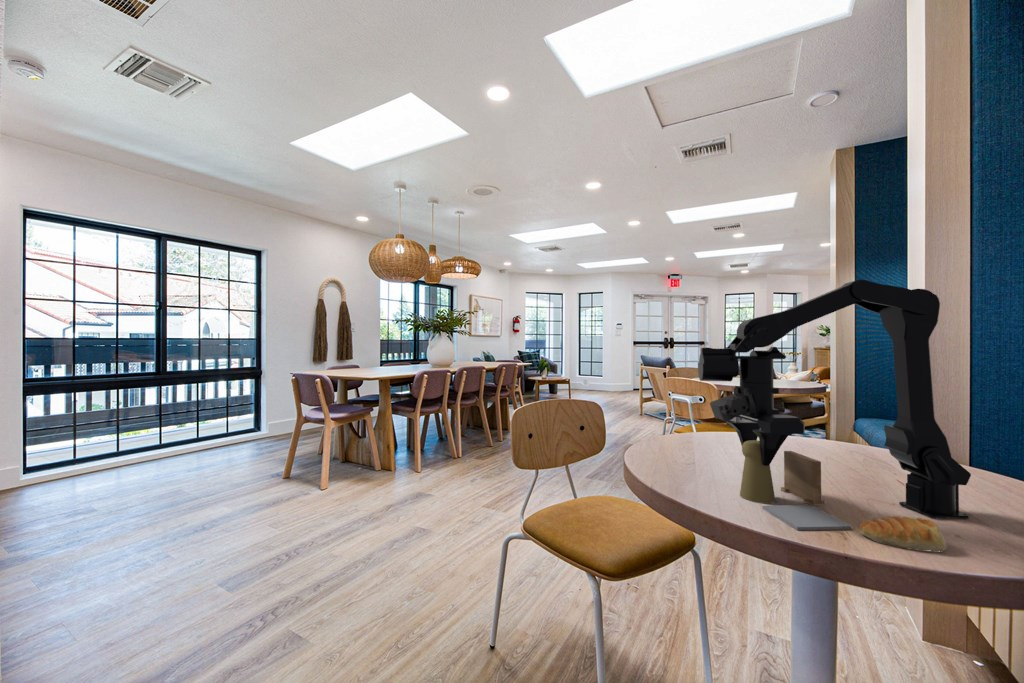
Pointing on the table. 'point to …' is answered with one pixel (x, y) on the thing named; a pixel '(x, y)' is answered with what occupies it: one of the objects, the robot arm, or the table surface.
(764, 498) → the olive peg figure
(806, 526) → the coaster
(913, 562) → the table surface
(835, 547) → the table surface
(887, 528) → the pastry
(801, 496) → the screen
